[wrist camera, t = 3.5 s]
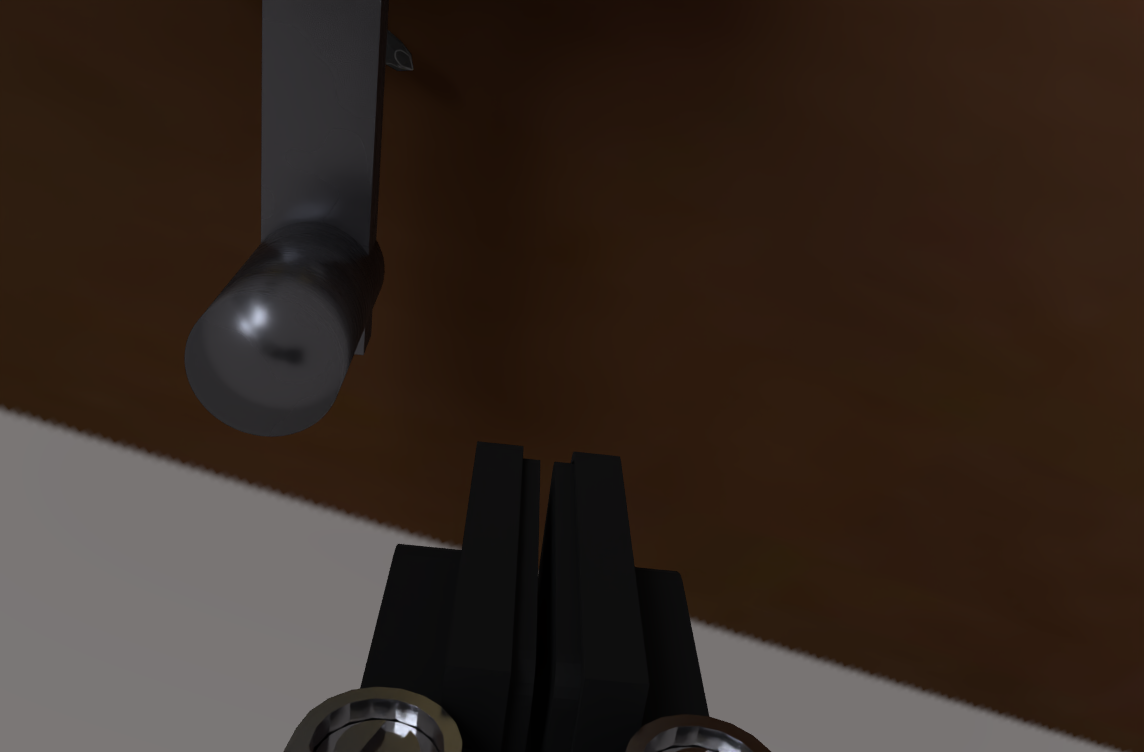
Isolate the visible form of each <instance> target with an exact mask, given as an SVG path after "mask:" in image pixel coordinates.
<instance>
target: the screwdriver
mask: <svg viewBox="0 0 1144 752" xmlns="http://www.w3.org/2000/svg"><path fill="white" fill-rule="evenodd" d="M385 64H387V65H388V66H390V67H392V68H393V69H395V70H397V71H407V70H413V64H412V56H411V53H410V52H409V50H408V49H407V48H406V47H405V45H404V44H403V43H402V42H401V41H400V40H399V39H398V38H397V37H395V36H394V35H393V34H392V33H391V32H390V31H389V30H387V44H386V63H385Z"/></svg>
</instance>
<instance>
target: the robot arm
mask: <svg viewBox="0 0 1144 752" xmlns="http://www.w3.org/2000/svg"><path fill="white" fill-rule="evenodd" d="M539 499H540V460H533V459H523V446H516V445H506V444H497V443H487V442H477V448H476V455H475V462H474V469H473V476H472V483H471V489H470V496H469V503H468V510H467V517H466V524H465V531H464V538H463V545H462V550H455V549H445V548H434V547H424V546H414V545H404V544H398V545H397V546H396V549H395V552H394V555H393V559H392V564H391V567H390V571H389V576H388V580H387V583H386V587H385V591H384V595H383V600H382V603H381V607H380V611H379V615H378V619H377V623H376V627H375V631H374V635H373V639H372V643H371V647H370V651H369V655H368V659H367V663H366V668H365V672H364V675H363V679H362V683H361V687H360V689H356V690H351V691H348V692H345V693H342V694H339V695H337V696H334V697H331V698H329V699H327V700H326V701H324V702H323V703H321V704H320V705H318V706H317V707H315V708H314V709H312V710H311V711H310V712H309V713H308V714H307V716H306V717H305V718H304V719H303V720H302V722H301V723H300V724H299V725H298V727H297V728H296V730H295V731H294V733H293V735H292V737H291V739H290V741H289V742H288V744H287V746H286V748H285V750H284V752H771V751H770V750H769V749H768V748H767V747H765V746H764V745H763V744H762V743H761V742H760V741H759V740H758V739H756V738H755V737H754V736H753V735H751V734H749V733H747V732H745V731H744V730H742V729H740V728H738V727H737V726H735V725H733V724H731V723H728V722H724V721H721V720H718V719H715V718H712V717H709V713H708V708H707V703H706V698H705V693H704V688H703V683H702V678H701V673H700V667H699V662H698V657H697V653H696V647H695V642H694V637H693V632H692V627H691V622H690V617H689V612H688V607H687V602H686V597H685V592H684V587H683V582H682V579H681V575H680V573H678V572H677V571H667V570H657V569H647V568H637V567H634V559H633V551H632V544H631V536H630V528H629V520H628V513H627V505H626V497H625V489H624V481H623V474H622V466H621V459H620V457H619V456H610V455H601V454H591V453H582V452H573V455H572V460H571V463H561V462H554V466H553V472H552V479H551V486H550V494H549V501H548V508H547V515H546V523H545V530H544V537H543V544H542V552H541V559H540V566H539V573H538V545H539Z"/></svg>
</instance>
